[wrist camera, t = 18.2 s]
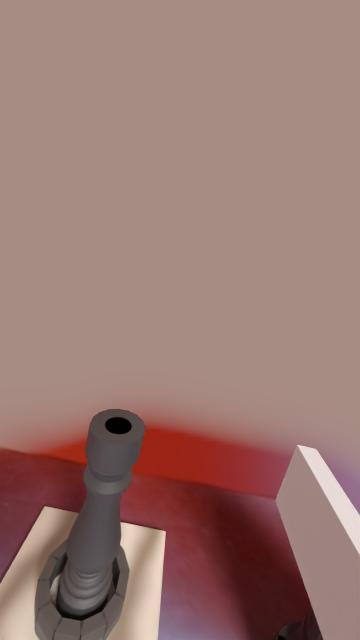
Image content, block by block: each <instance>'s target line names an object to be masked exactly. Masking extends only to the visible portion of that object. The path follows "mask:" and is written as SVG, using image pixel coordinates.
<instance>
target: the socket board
mask: <svg viewBox="0 0 360 640" xmlns="http://www.w3.org/2000/svg"><path fill="white" fill-rule="evenodd" d="M78 514H79V513H75V512H70V511H66V510H61V509H56V508H51V507H46V506H45V507H44V508H43V510H42V512H41V514H40V515H39V517H38V519H37V521H36V522H35V524H34V526H33V528H32V529H31V531H30V533H29V535H28V536H27V538H26V540H25V542H24V543H23V545H22V547H21V549H20V550H19V552H18V554H17V556H16V557H15V559H14V561H13V563H12V564H11V566H10V568H9V570H8V571H7V573H6V575H5V577H4V578H3V580H2V582H1V584H0V640H158V626H159V613H160V599H161V586H162V573H163V559H164V546H165V533H166V531H161V530H157V529H152V528H147V527H142V526H137V525H133V524H128V523H123V522H121V535H122V537H121V542H120V547H119V551H118V553H117V554H116V556H115V558H114V559H113V561H112V565H113V567H112V574H113V576H112V581H111V586H110V590H109V595H108V599H107V603H106V606H105V608H104V610H103V611H102V612H100V613H98V614H96V615H94V616H92V617H90V618H88V619H86V620H84V621H78V620H73V619H67V618H62V616H61V615H60V614H59V612H58V611H57V610H56V598H57V593H58V587H59V581H60V578H61V575H62V572H63V569H64V567H65V565H66V562H67V559H68V557H67V538H68V536H69V533H70V530H71V528H72V526H73V524H74V522H75V520H76V518H77V516H78Z"/></svg>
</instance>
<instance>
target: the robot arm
mask: <svg viewBox="0 0 360 640" xmlns="http://www.w3.org/2000/svg"><path fill="white" fill-rule="evenodd" d="M275 501H276V504H277V507H278V509H279V512H280V515H281V518H282V521H283V524H284V527H285V530H286V533H287V536H288V538H289V541H290V544H291V547H292V550H293V553H294V556H295V559H296V562H297V565H298V567H299V570H300V573H301V576H302V579H303V582H304V585H305V588H306V591H307V594H308V596H309V599H310V602H311V607H310V609H309V611H308V613H307V615H304V616H302V617H300V618H298V619H296V620H294V621H292V622H290V623H288V624H286V625H285V626H283V627H282V628H281V629H280V630H279V632H278V633H277V634H276V636H275V638H274V639H273V640H360V515H359V514H358V512H357V511H356V509H355V508H354V506H353V505H352V504H351V502H350V501H349V499H348V497H347V496H346V494H345V493H344V491H343V489H342V488H341V486H340V485H339V483H338V482H337V481H336V479H335V478H334V476H333V474H332V473H331V471H330V470H329V468H328V467H327V465H326V464H325V462H324V460H323V459H322V458H321V456H320V454H319V453H318V451H317V450H316V449H313V448H309V447H304V446H300V445H297V447H296V449H295V452H294V454H293V457H292V459H291V462H290V464H289V467H288V470H287V472H286V475H285V478H284V480H283V482H282V485H281V488H280V490H279V493H278V495H277V498H276V500H275Z"/></svg>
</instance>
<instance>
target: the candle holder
mask: <svg viewBox="0 0 360 640" xmlns="http://www.w3.org/2000/svg"><path fill="white" fill-rule="evenodd" d="M144 432H145V425H144V422H143V420H142V419H140V418H139V417H138V416H137V415H136V414H134V413H132V412H129V411H126V410H121V409H109V410H105V411H102V412H100V413H98V414H97V415H95V416H94V417H93V419H92V421H91V423H90V427H89V433H88V438H87V444H86V449H85V450H86V458H87V460H88V465H87V466H86V468H85V470H84V473H83V479H84V485H85V487H86V488H87V493H86V498H85V502H84V504H83V506H82V508H81V510H80V512H79V514H78V516H77V518H76V520H75V522H74V524H73V526H72V528H71V530H70V533H69V536H68V538H67V557H68V559H67V562H66V565H65V567H64V569H63V572H62V575H61V578H60V581H59V587H58V593H57V598H56V610H57V611H58V612H59V614H60V615H61V616H62V618H67V619H73V620H78V621H84V620H86V619H88V618H90V617H92V616H94V615H96V614H98V613H100V612H102V611H103V610H104V608H105V606H106V603H107V599H108V595H109V590H110V586H111V581H112V576H113V574H112V567H113V565H112V561H113V559H114V558H115V556H116V554H117V553H118V551H119V547H120V542H121V537H122V535H121V521H120V505H119V503H120V499H121V495H122V493H123V492H125V490H126V489H127V488H128V486H129V485H130V483H131V478H132V470H131V468H132V467H133V465H134V464H135V463H136V461H137V460H138V458H139V454H140V450H141V445H142V441H143V437H144Z"/></svg>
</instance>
